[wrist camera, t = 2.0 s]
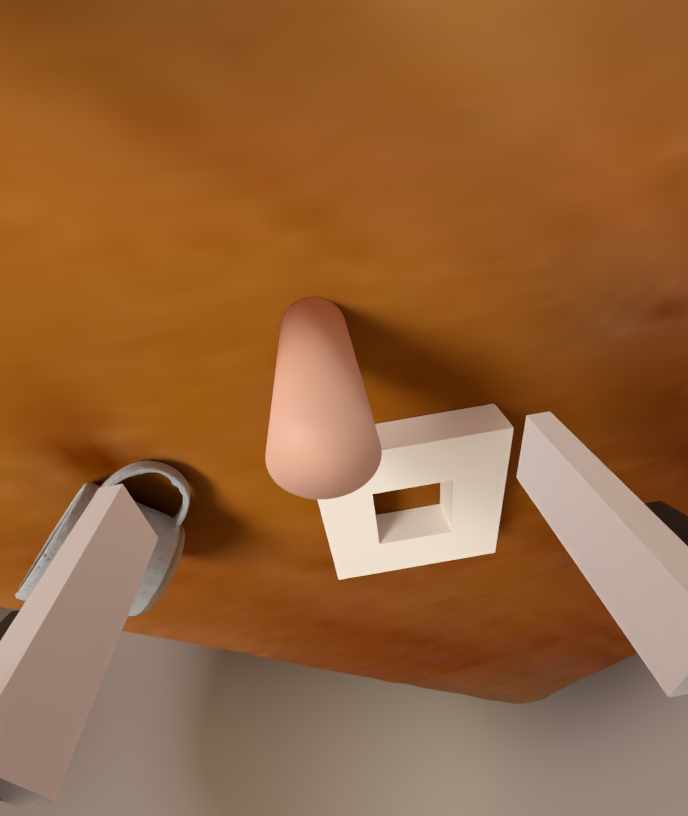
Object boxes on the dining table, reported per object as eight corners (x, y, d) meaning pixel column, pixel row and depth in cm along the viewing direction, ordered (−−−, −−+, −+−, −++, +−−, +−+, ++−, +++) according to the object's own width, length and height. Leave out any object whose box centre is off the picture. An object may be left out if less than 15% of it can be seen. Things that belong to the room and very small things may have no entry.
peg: (273, 302, 22) (251, 422, 12) (341, 291, 22) (376, 401, 12) (289, 363, 24) (280, 507, 14) (350, 353, 24) (386, 489, 14)
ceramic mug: (159, 554, 33) (126, 647, 26) (59, 520, 29) (-7, 618, 23) (221, 481, 29) (200, 569, 23) (115, 433, 26) (54, 521, 19)
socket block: (307, 435, 27) (307, 463, 25) (494, 403, 27) (513, 427, 25) (335, 550, 35) (338, 579, 32) (481, 524, 35) (494, 552, 33)
